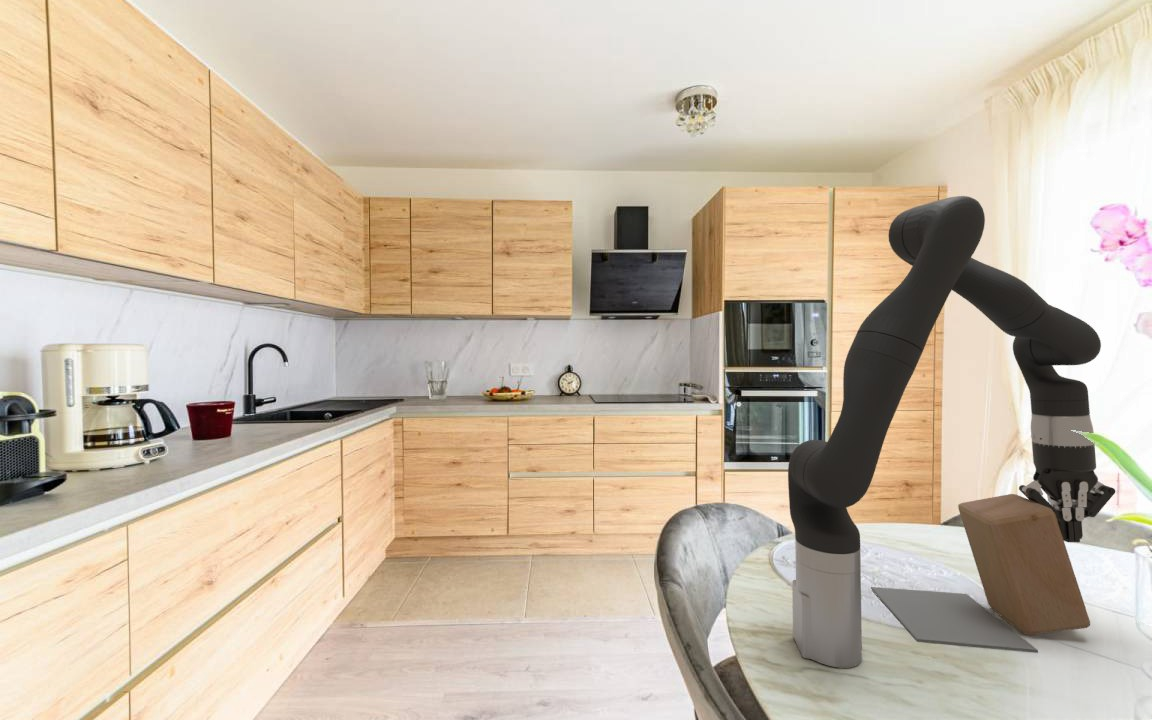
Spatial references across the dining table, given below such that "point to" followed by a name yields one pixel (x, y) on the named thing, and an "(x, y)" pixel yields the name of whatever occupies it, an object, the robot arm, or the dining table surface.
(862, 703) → the dining table surface
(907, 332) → the robot arm
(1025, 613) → the wooden block
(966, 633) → the mat
